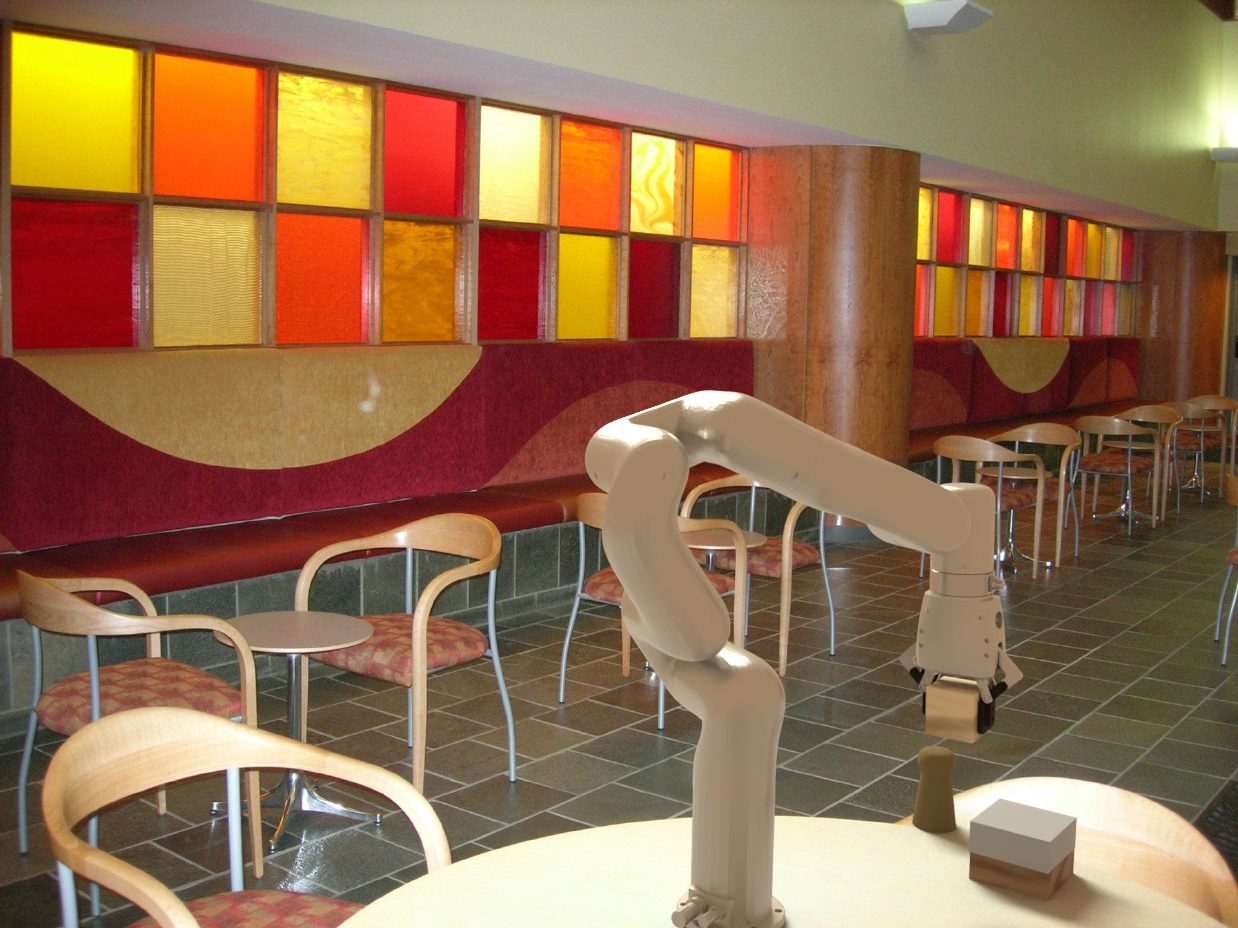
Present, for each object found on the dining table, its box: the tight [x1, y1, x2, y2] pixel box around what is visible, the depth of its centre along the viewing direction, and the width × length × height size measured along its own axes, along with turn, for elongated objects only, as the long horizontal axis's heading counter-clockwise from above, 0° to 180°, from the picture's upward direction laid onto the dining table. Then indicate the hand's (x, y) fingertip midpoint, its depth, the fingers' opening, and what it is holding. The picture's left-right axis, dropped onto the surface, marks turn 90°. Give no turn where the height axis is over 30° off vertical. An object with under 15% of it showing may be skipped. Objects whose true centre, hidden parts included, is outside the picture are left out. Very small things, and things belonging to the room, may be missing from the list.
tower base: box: [968, 848, 1076, 902], centre depth 152 cm, size 10×10×4 cm
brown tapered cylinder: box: [911, 745, 957, 834], centre depth 168 cm, size 6×6×11 cm
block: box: [924, 675, 990, 744], centre depth 148 cm, size 6×6×6 cm
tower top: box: [968, 798, 1078, 874], centre depth 151 cm, size 10×10×4 cm
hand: (957, 724), depth 149 cm, fingers closed on block, 6 cm apart
